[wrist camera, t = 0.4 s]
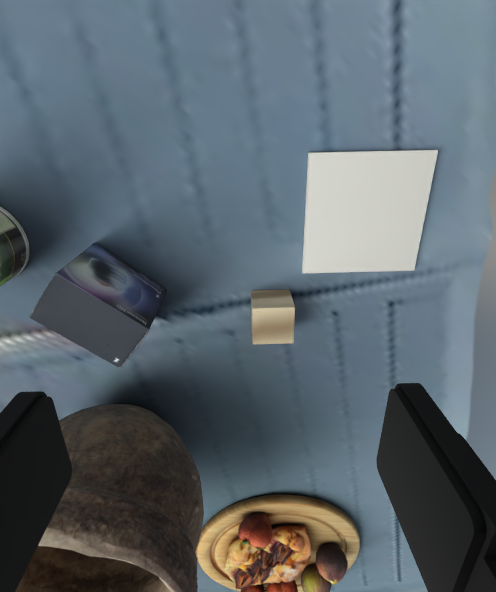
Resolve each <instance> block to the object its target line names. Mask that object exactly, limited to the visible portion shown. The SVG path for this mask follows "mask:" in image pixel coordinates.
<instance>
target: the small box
mask: <svg viewBox="0 0 496 592" xmlns="http://www.w3.org/2000/svg"><path fill="white" fill-rule="evenodd" d="M166 291H167V290H166V289H165V288H163V287H162V286H160V285H159V284H157V283H156V282H154V281H153V280H151V279H150V278H148V277H147V276H145V275H144V274H142V273H140V272H139V271H137V270H136V269H134V268H133V267H131V266H130V265H128V264H127V263H125V262H124V261H122V260H121V259H119V258H118V257H116V256H115V255H113V254H112V253H110V252H109V251H107V250H106V249H104V248H103V247H101V246H100V245H98V244H97V243H94V244H92V245H91V246H90V247H89V248H88V249H86V250H85V251H84V252H83V253H81V254H80V255H79V256H78V257H76V258H75V259H74V260H73V261H71V262H70V263H69V264H67V265H66V266H65V267H64V268H62V269H61V270H60V271H58V272H57V273H56V274H55V275H54V276H53V278H52V279H51V281H50V282H49V284H48V286H47V287H46V289H45V291H44V292H43V294H42V296H41V297H40V299H39V301H38V302H37V304H36V306H35V308H34V309H33V311H32V313H31V314H30V318H31V319H33V320H35V321H37V322H38V323H40V324H42V325H44V326H46V327H47V328H49V329H51V330H53V331H55V332H56V333H58V334H60V335H62V336H63V337H65V338H67V339H69V340H71V341H72V342H74V343H76V344H78V345H80V346H81V347H83V348H85V349H87V350H88V351H90V352H92V353H94V354H96V355H97V356H99V357H101V358H103V359H105V360H106V361H108V362H110V363H112V364H114V365H115V366H117V367H119V368H120V367H122V366H123V364H124V363H125V362H126V360H127V359H128V358H129V356H130V355H131V354H132V353H133V351H134V350H135V349H136V347H137V346H138V345H139V343H140V342H141V341H142V339H143V338H144V337H145V335H146V334H147V333H148V332H149V329H150V327H151V324H152V322H153V320H154V318H155V316H156V313H157V311H158V309H159V306H160V304H161V302H162V300H163V298H164V295H165V293H166Z"/></svg>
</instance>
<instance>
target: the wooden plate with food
mask: <svg viewBox="0 0 496 592" xmlns="http://www.w3.org/2000/svg"><path fill="white" fill-rule="evenodd" d="M359 549H360V536H359V532H358V529H357V527H356V525H355V524H354V522H353V521H352V519H351V518H350V517H349V516H348V515H347V514H346V513H344V512H343V511H342V510H340V509H339V508H337V507H335V506H333V505H331V504H329V503H327V502H324V501H322V500H319V499H315V498H311V497H306V496H299V495H280V494H278V495H267V496H260V497H255V498H251V499H247V500H244V501H241V502H238V503H235V504H233V505H231V506H229V507H227V508H225V509H223V510H222V511H220V512H219V513H217V514H216V515H214V516H213V517H212V518H211V519H210V520H209V521H208V522H207V523H206V524H205V525H204V527H203V528H202V530H201V534H200V540H199V543H198V546H197V548H196V556H197V559H198V562H199V564H200V566H201V567H202V569H203V570H204V572H205V573H206V574H207V575H208V576H209V577H211V578H212V579H213V580H215V581H216V582H218V583H220V584H221V585H224V586H226V587H228V588H230V589H233V590H237V591H241V592H330V589H331V583H332V584H334V585H335V584H336V583H338V582H339V581H340V580H341V579H342V578H343V577H344V575H345V573H346V571H347V570H348V569H349V568H350V567H351V566H352V565H353V563H354V562H355V560H356V558H357V556H358V553H359Z"/></svg>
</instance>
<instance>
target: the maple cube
mask: <svg viewBox="0 0 496 592" xmlns="http://www.w3.org/2000/svg"><path fill="white" fill-rule="evenodd" d="M294 317H295V306H294V303H293V299H292V296H291V293H290V290H256V291H251V321H252V339H253V344H284V343H293V340H294Z"/></svg>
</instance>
